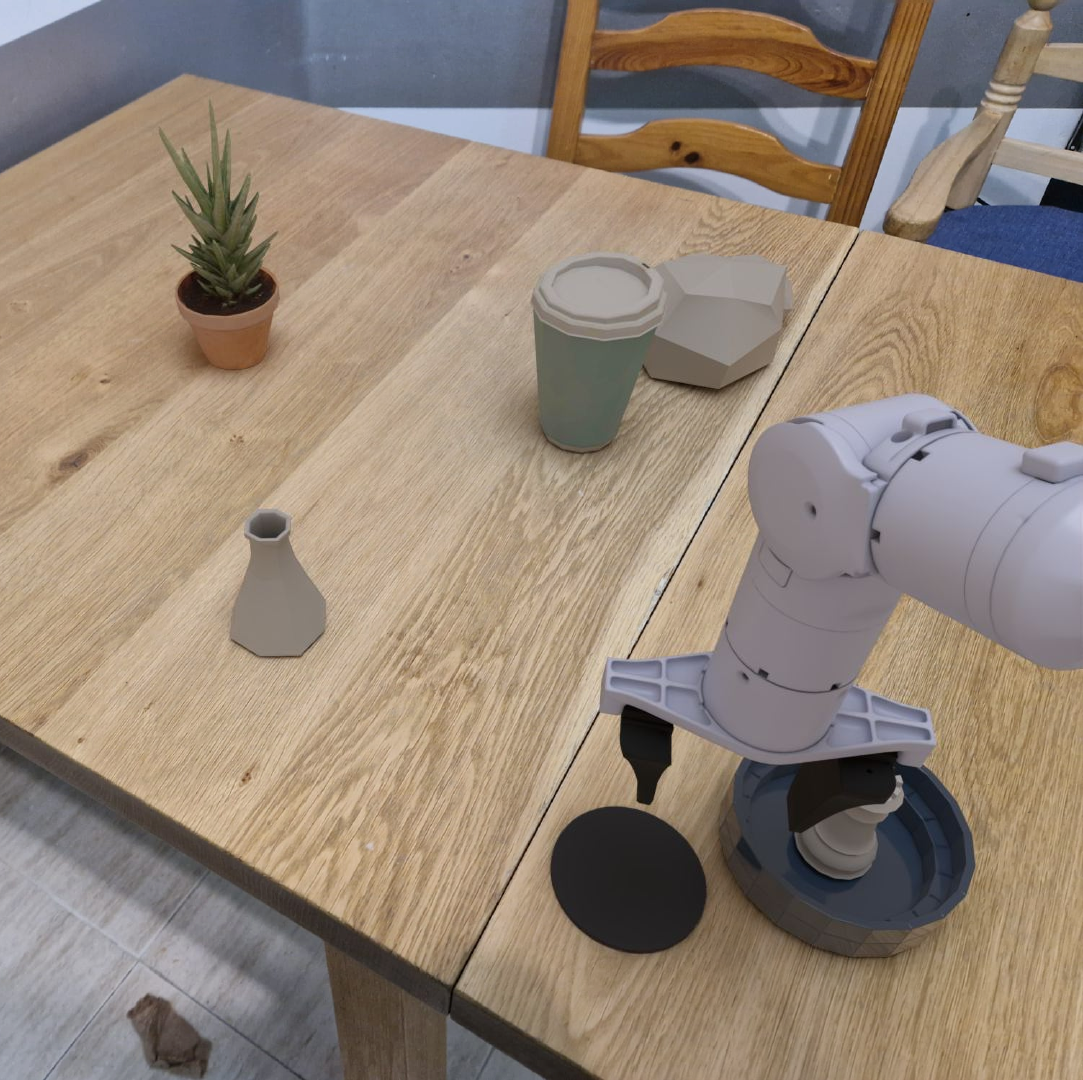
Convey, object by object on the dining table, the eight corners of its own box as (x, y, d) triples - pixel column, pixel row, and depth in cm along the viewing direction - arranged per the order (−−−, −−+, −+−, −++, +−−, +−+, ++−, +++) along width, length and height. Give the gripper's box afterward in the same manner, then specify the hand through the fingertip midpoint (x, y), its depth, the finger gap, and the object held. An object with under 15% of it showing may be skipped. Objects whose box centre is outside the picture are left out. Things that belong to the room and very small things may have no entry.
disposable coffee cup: (558, 483, 84) (584, 330, 73) (492, 411, 90) (507, 262, 80) (662, 446, 87) (701, 294, 76) (590, 379, 94) (617, 232, 83)
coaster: (737, 893, 59) (739, 890, 58) (629, 986, 55) (630, 983, 55) (624, 783, 64) (625, 780, 63) (518, 862, 60) (519, 859, 60)
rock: (575, 307, 102) (589, 219, 95) (750, 276, 106) (776, 189, 99) (661, 414, 90) (684, 322, 83) (855, 374, 93) (893, 283, 87)
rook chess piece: (791, 871, 59) (835, 802, 53) (792, 806, 62) (833, 733, 56) (872, 892, 58) (926, 824, 52) (869, 825, 61) (919, 753, 55)
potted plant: (180, 383, 94) (133, 120, 76) (191, 326, 101) (150, 72, 83) (287, 381, 94) (264, 118, 76) (290, 323, 101) (270, 70, 83)
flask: (252, 575, 77) (238, 478, 70) (341, 596, 75) (336, 499, 68) (213, 646, 72) (194, 550, 65) (307, 670, 70) (299, 574, 63)
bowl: (991, 873, 59) (1021, 840, 56) (856, 1008, 54) (882, 979, 51) (806, 724, 67) (825, 688, 64) (672, 830, 61) (686, 796, 59)
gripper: (957, 596, 45) (854, 761, 54) (625, 548, 47) (584, 714, 57) (990, 727, 40) (871, 883, 50) (618, 666, 42) (574, 826, 52)
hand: (718, 801), depth 53 cm, fingers open, 7 cm apart
